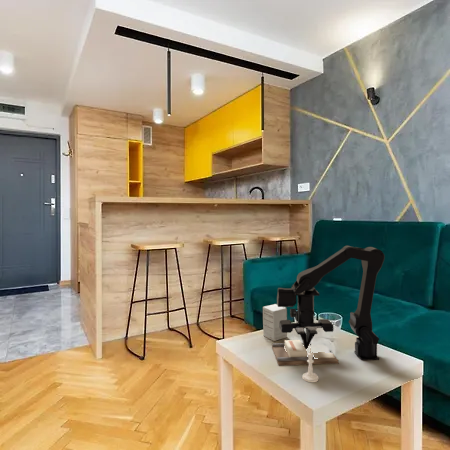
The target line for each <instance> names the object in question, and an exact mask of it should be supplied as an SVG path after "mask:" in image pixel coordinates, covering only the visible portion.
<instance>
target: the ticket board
mask: <svg viewBox="0 0 450 450" xmlns="http://www.w3.org/2000/svg"><path fill="white" fill-rule="evenodd" d="M302 344H303V342H302ZM284 346H285V342H283V343H281V342H280V343H278V342H277V343H275V342H274V343H272V344H271V349H272V351H273V354H274V357H275V360H276V363H277V366H285V365H286V366H288V365H290V366H291V365H292V366H293V365H294V366H295V365H309V363H308V362H307V360H308V359H309V358H308V357H289V355H288V353H287V352H286V351H285V349H284ZM312 353H313V352H312ZM332 353H333V352H332ZM332 353H325V352H318V353H313V354H314V357H315V358H318V359H314V357H313V358H312V360H313V361H314V362H313V363H312V365H326V364H327V365H328V364H329V365H330V364H339V359H338V358H337V356H336V355H335V354H334V353H333V354H332Z"/></svg>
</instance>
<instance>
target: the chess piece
mask: <svg viewBox="0 0 450 450" xmlns="http://www.w3.org/2000/svg"><path fill="white" fill-rule="evenodd" d="M307 355H308V358H309V359H308V360H307V362H308V363H309V364H308V367H307V371H306V372H304V373H303V374H302V380H303V381H305V382H308V383H316V382H318V381H319V376H318V374H317V373H315V372H314V369H313V364H312V363H313V362H314V361H313V360H312V358H313V355H314V354H313V353H311V347H310V352H309V353H307Z"/></svg>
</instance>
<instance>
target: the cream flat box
mask: <svg viewBox="0 0 450 450" xmlns="http://www.w3.org/2000/svg"><path fill="white" fill-rule="evenodd" d="M284 343H285V348H286V351H287V353H288V355H289V357H307V351H306V349H305V347H304V346H303V344H302V343H303V342H302V340H301V339H285V340H284Z"/></svg>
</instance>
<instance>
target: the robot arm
mask: <svg viewBox="0 0 450 450" xmlns="http://www.w3.org/2000/svg"><path fill="white" fill-rule="evenodd" d="M350 259H354V260H355V259H356V260H360V261H361V266H362V271H363V272H362V278H361V283H360V289H359V294H358V301H357V308H356V310H355V311H354V312H353V311H351V312H350V313H349V314H350V315H349V316H350V317H349V320H348V323H349V325H350V328H351V330H352V332H354V334H356V336H357V337H356V339H355V340H356V341H355V342H354V353H355V355H356V356H357V357H358V358H359V359H360V360H361V361H363V360H364V361H367V360H370V361H371V360H373V361H374V360H379V359H380V357H379V356H378V343H379V341H380V338H379V337H378V335H376V334H375V333H374V331H373V320H372V316H371V313H372V311H371V310H372V304H373V300H374V292H375V286H376V283H377V282H376V281H377V276H378V273H379V272H380V271H381V268H382V267H383V264H384V262H385V253H384V252H383V251H382V250H381V249H378V248H376V247H373V246H367V247H365V248H362V247H357V246H355V247H354V246H350V245H345V246H343V247H342V248H341V249H339V250H338V251H336V252H335V253H334V254H332V255H330V256H329V257H328V258H326V259H325V260H323V261H322V262H320V263H319V264H318V265H316V266H313V267H310V268H307V269H305V270H302V271H301V272H299V273H298V274H297V276H296V281H295V282H294V283H293V284H292V285H291V288H285V287H278V288H277V295H276V304H277V305H278V307H285V308H289V317H290V318H294V320H295V321H296V322H292V321H291V320H290V319H287V320H281V321H280V322H279V328H280V330H281V332H283V333H287V334H289V333H292V332H293V331H295V332H296V334H297V335H300V340H301V342H302V343H303V345H304V347H305V349H307V348H308V346H309V344H311V341H312V339H313V338H314V337H315V336H316V335H318V331H317V329H322V330H323V331H324V332H325V333H327V332H328V333H333V332H334V324H333V323H332V322H331V320H329V319H328V318H321V319H318V321H317V322H315V318H314V317H315V308H314V307H315V300H314V299H315V297H316V296H317V297H318V296H320V292H318V290H316V288H315V287H316V286H317V285H318V284H319V282H321V280H322V279H323V277H325V276H326V275H328V274H329V273H330V272H332V271H334V270H335V269H337V268H338V267H339V266H341V265H342V264H344V263H346V262H347V261H348V260H350ZM296 304H297V308H294V306H296Z"/></svg>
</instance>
